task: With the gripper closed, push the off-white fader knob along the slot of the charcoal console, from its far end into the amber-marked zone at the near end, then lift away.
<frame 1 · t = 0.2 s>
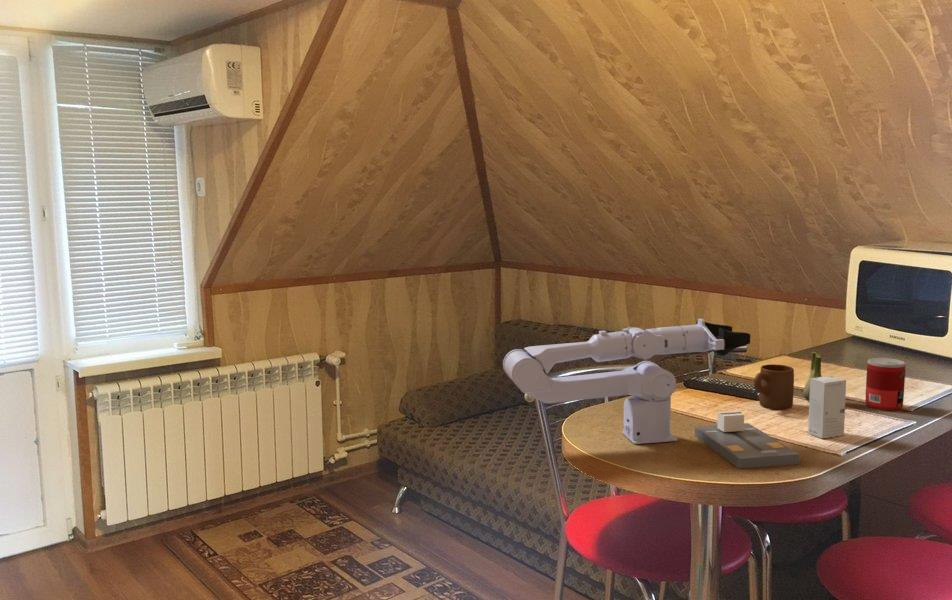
hand: (740, 334, 167), 21 cm above the counter, tool horizontal, fingers open, 7 cm apart
skincare box: (825, 435, 167), on the counter
fennel bulb: (813, 401, 192), on the counter
fader knob: (730, 421, 164), point 4 cm above the counter, slide at 0.0 cm
console: (744, 449, 159), on the counter
canned food: (883, 407, 186), on the counter
mug: (770, 408, 187), on the counter
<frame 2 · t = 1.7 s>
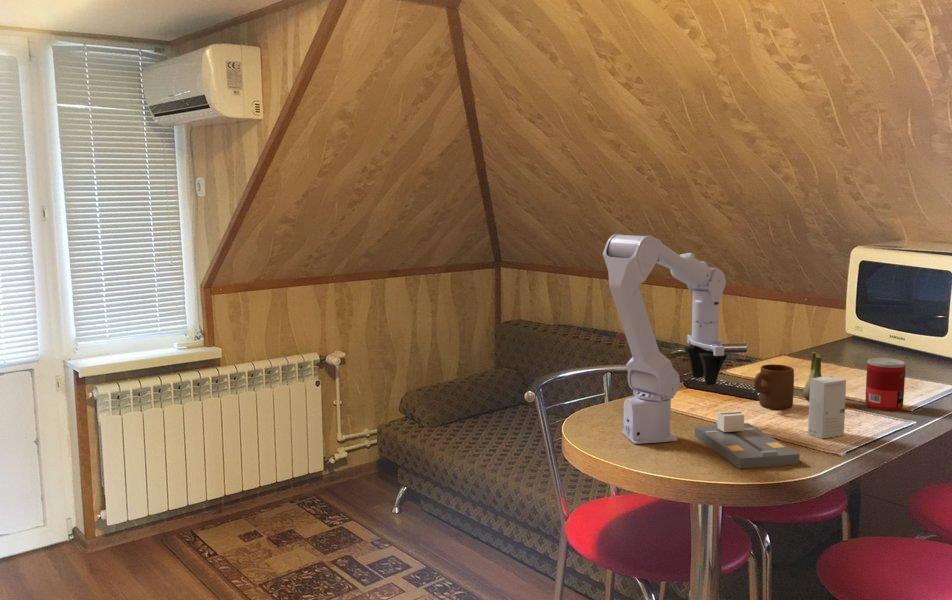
hand: (704, 381, 176), 9 cm above the counter, tool pointing down, fingers open, 6 cm apart
nothing on the counter moved.
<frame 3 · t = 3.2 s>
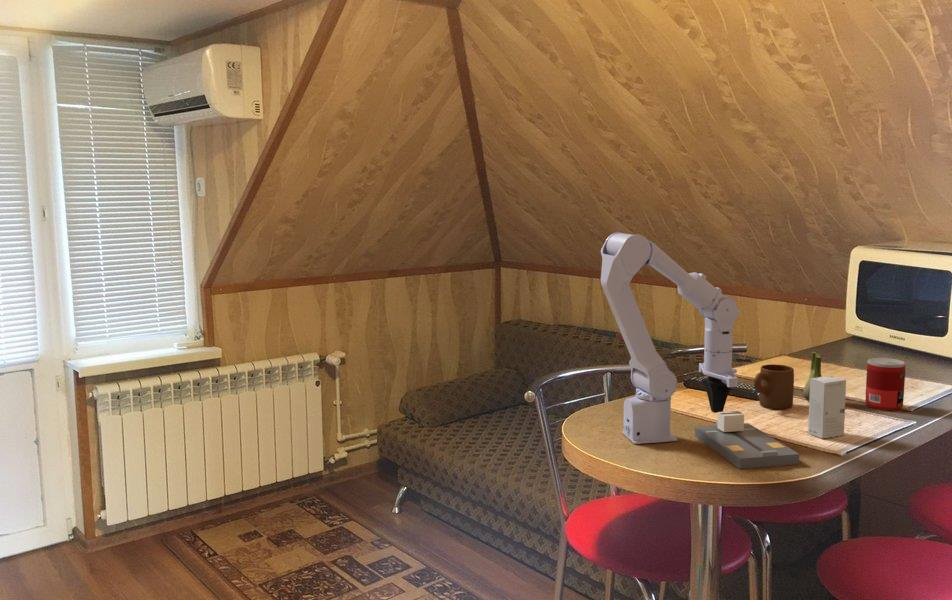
hand: (716, 411, 170), 4 cm above the counter, tool pointing down, fingers closed
nothing on the counter moved.
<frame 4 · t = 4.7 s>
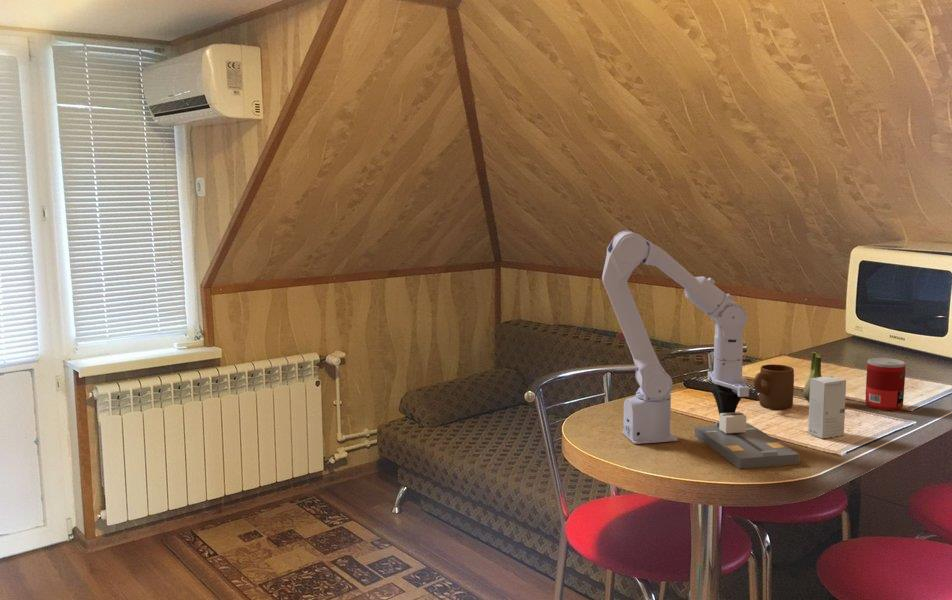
hand: (726, 421, 166), 3 cm above the counter, tool pointing down, fingers closed
fader knob: (732, 422, 163), point 4 cm above the counter, slide at 0.9 cm, touching gripper
everything else where it was.
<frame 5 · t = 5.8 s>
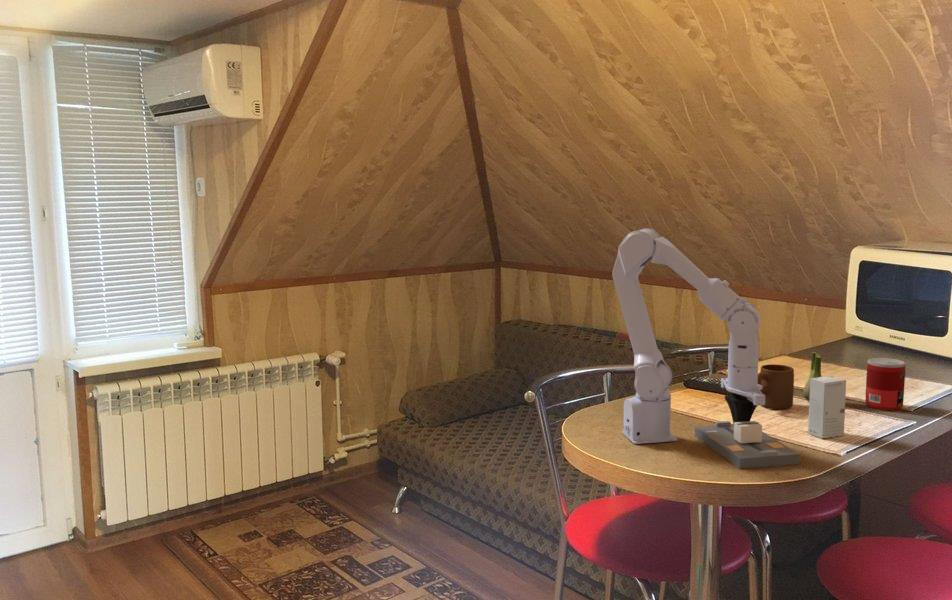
hand: (741, 430, 160), 3 cm above the counter, tool pointing down, fingers closed
fader knob: (747, 431, 157), point 4 cm above the counter, slide at 7.3 cm, touching gripper
everything else where it was.
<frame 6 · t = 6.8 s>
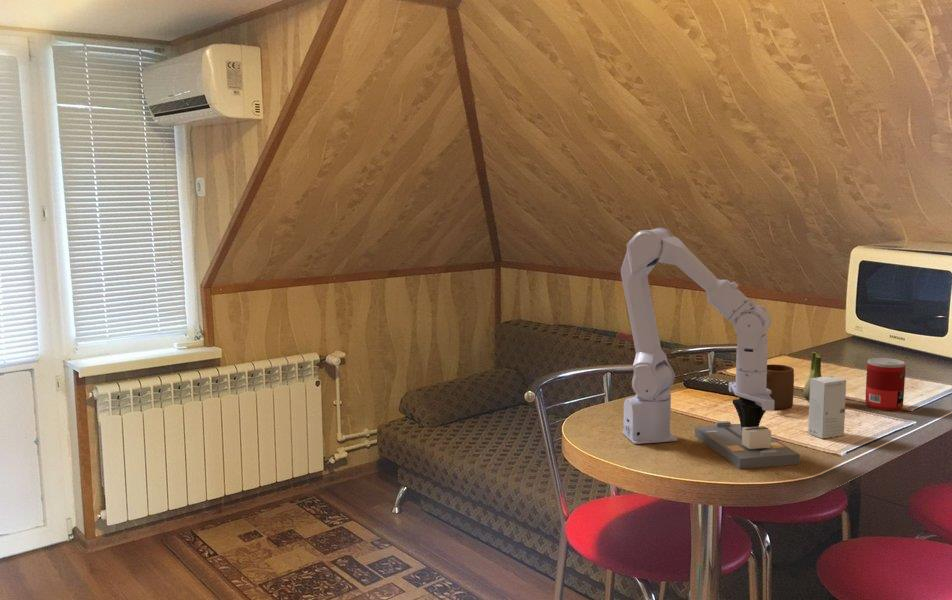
hand: (749, 435, 156), 3 cm above the counter, tool pointing down, fingers closed
fader knob: (756, 437, 153), point 4 cm above the counter, slide at 10.7 cm, touching gripper
everything else where it was.
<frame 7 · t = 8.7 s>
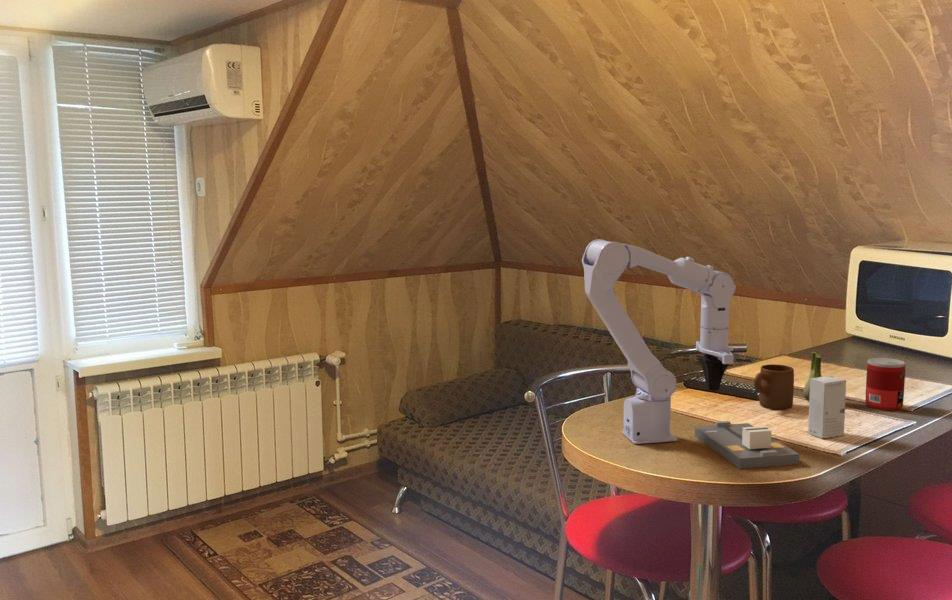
hand: (712, 389, 169), 9 cm above the counter, tool pointing down, fingers closed
fader knob: (756, 437, 153), point 4 cm above the counter, slide at 10.8 cm
everything else where it was.
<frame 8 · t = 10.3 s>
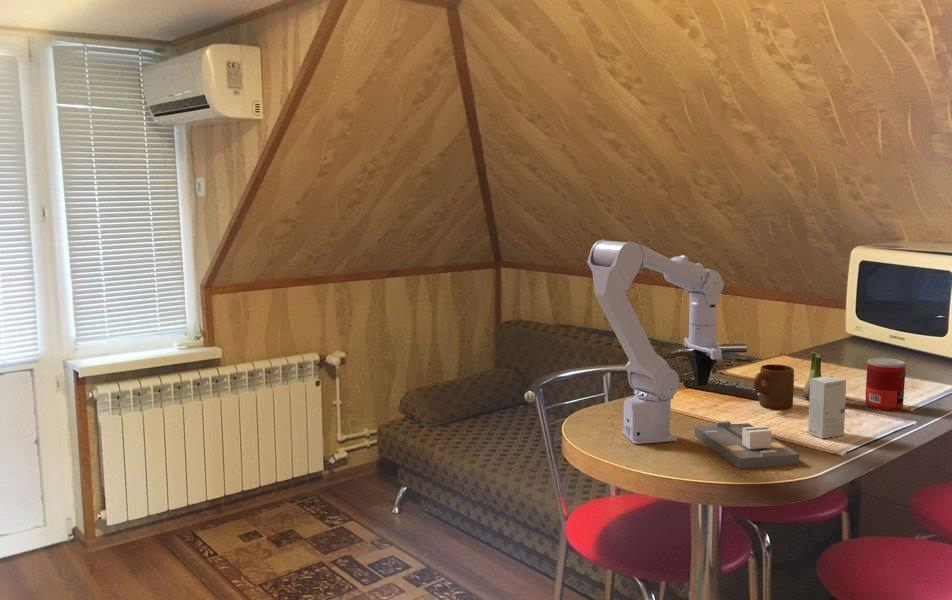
hand: (701, 384, 173), 9 cm above the counter, tool pointing down, fingers closed
nothing on the counter moved.
at the end: fader knob slide at 10.8 cm; mug moved 0.2 cm from its start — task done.
